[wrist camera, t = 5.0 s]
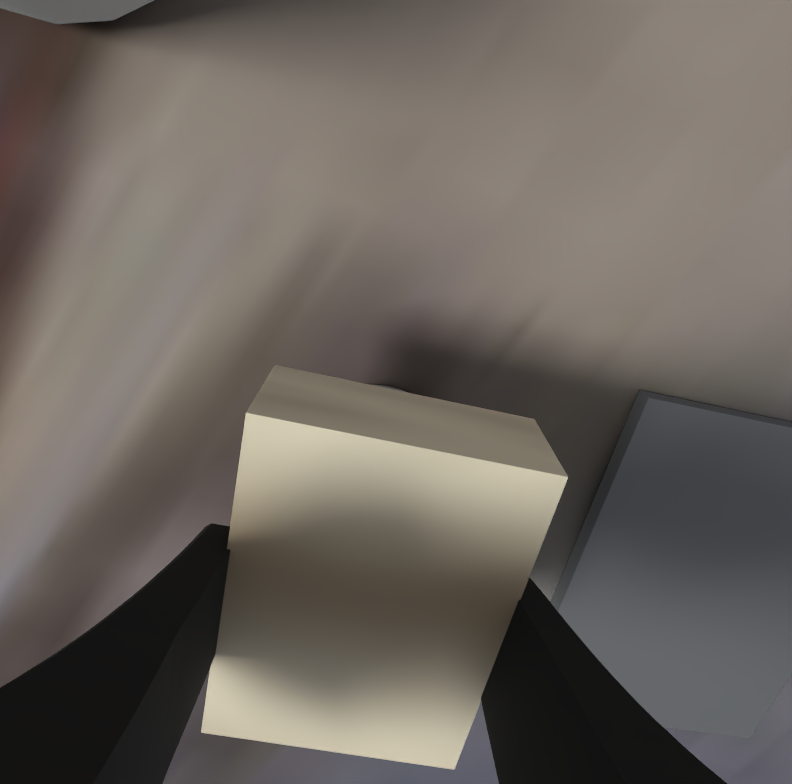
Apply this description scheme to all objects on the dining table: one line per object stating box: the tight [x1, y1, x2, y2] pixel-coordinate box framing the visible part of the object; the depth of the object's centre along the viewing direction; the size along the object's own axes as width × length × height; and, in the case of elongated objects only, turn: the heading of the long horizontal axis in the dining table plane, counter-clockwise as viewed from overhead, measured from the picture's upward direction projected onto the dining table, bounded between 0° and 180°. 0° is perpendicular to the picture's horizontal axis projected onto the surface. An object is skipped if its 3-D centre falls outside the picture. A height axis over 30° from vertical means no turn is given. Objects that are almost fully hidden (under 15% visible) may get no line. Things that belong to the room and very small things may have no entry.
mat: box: [551, 390, 792, 739], centre depth 18 cm, size 12×9×1 cm
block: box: [201, 365, 568, 769], centre depth 12 cm, size 8×6×2 cm
